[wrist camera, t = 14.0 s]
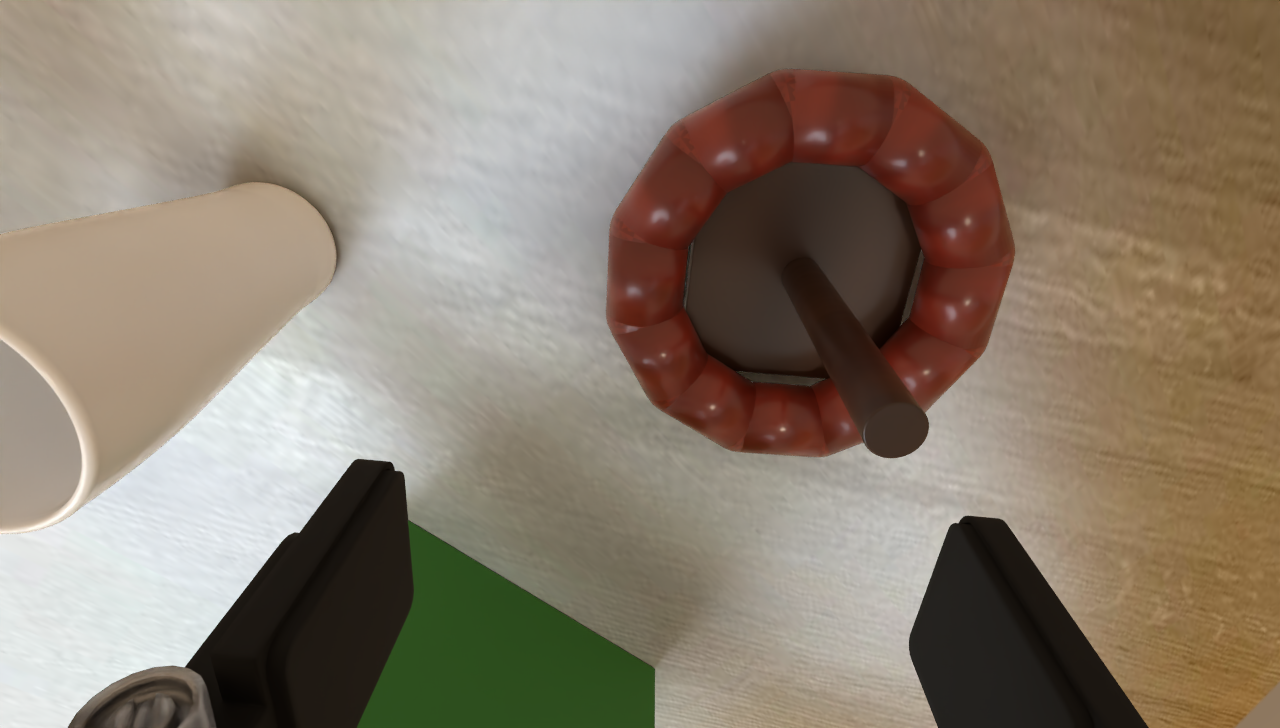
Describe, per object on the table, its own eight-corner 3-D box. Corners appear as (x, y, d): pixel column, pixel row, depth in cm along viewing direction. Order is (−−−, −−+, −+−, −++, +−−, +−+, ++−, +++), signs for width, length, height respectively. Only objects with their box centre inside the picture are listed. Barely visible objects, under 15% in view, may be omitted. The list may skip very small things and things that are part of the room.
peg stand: (927, 166, 27) (1155, 271, 14) (874, 369, 30) (1017, 585, 18) (702, 146, 26) (740, 234, 14) (677, 352, 30) (691, 558, 18)
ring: (1038, 84, 24) (1087, 89, 21) (933, 441, 30) (960, 480, 28) (619, 55, 24) (613, 57, 21) (603, 420, 30) (597, 457, 28)
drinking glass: (226, 127, 27) (-221, 215, 13) (383, 219, 28) (127, 384, 15) (179, 265, 29) (-236, 457, 16) (325, 342, 31) (62, 580, 17)
